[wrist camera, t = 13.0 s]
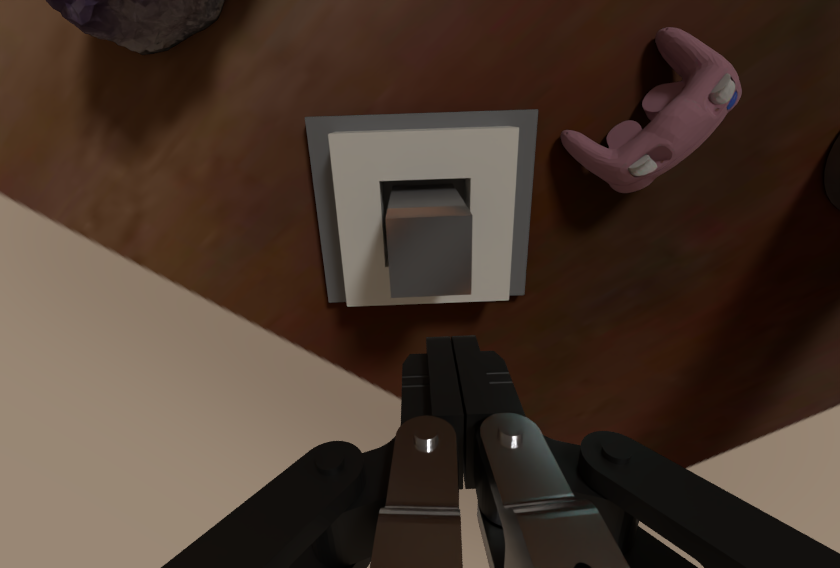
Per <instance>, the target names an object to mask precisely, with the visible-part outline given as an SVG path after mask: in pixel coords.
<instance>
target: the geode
mask: <svg viewBox="0 0 840 568" xmlns="http://www.w3.org/2000/svg"><path fill="white" fill-rule="evenodd" d="M46 1H47V2H48V3H49V4H50V6H51V7H52V8H53V9H55V10H57V11H59V12H61V14H62V16H63V17H64V18H65V19H67V20H68V21H69V22H70V23H72V24H74V25H75V26H76V27H78V28H79V29H80V30H81V31H82V32H84V33H85V34H90V35H91V36H94V37H97V38H98V39H104V40H109V41H114V42H115V43H116V44H117V45H120V46H124V47H126V48H128V49H129V50H131V51H136V52H138V53H140V54H142V55H145V54H153V53H158V52H162V51H167V50H169V49H170V48H172V47H174V46H175V45H177V44H178V43H180V42H182V41H183V40H185V39H187V38H188V37H190V36H192V35H193V34H195V33H197V32H199V31H202V30H204V29H206V28H207V27H209V26H210V25H211V24H212V23H214V22H215V21H216V20H217V19H218V17H219V15H220V13H221V10H222V7H223V3H224V0H46Z"/></svg>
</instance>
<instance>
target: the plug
mask: <svg viewBox="0 0 840 568" xmlns="http://www.w3.org/2000/svg"><path fill="white" fill-rule="evenodd" d="M472 216H473V215H472V214H471V212H470V210H469V209H468V207H467V206H466V204H465V203H464V201H463V199H462V198H461V196H460V195H459V193H458V191H457V190H456V188H455V187H454V185H453V184H429V185H404V186H392V190H391V195H390V200H389V205H388V209H387V214H386V233H387V248H388V262H389V277H390V291H391V298H404V297H427V296H449V295H471V286H472Z"/></svg>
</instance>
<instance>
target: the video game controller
mask: <svg viewBox="0 0 840 568" xmlns="http://www.w3.org/2000/svg"><path fill="white" fill-rule="evenodd" d="M655 43H656V45H657V48H658V50H659V52H660V53H661V55H662V57H663V58H664V59H665V61H666V62H667V63H668V64H669V65H670V66H671V67H672V68H673V69H674V70H675V71H676V72H677V73H678V74H679V75H680V76H681V77H682V79H683V80H682V81H680V82H675V83H666V84H661V85H658V86H656V87H655V88H653V89H652V90H650V91H649V92H648V93H647V95H646V96H645V97H644V99H643V102H642V107H643V109H644V111H645V113H646V115H647V117H648V119H649V120H651V121H650V123H649V124H648V125H647V126H646V127H645V128H644V129H643V130H642V128H641V126H640V125H639V123H637V122H636V121H632V120H628V121H624V122H622V123H620V124H618V125H617V126H615V127H614V128H613V129H612V130H611V131H610V132H609V133H608V135H607V143H608V146H609V148H606V147H604V146H601V145H599V144H597V143H595V142H594V141H592V140H591V139H589V138H588V137H586V136H584V135H583V134H581V133H579V132H576V131H573V130H564V131H563V132H562V133H561V141H562V144H563V146H564V147H565V149H566V150H567V151H568V152H569V153H570V154H571V155H572V156H573V158H575V159H576V160H577V161H578V162H579V163H580V164H582V165H583V166H584V167H585V168H586V169H588V170H589V171H590V172H592V173H593V174H595V175H597V176H598V177H600V178H601V179H603V180H604V181H606V182H607V183H609V185H610V186H611V188H613V189H614V190H615V191H617V192H620V193H630V192H635V191H637V190H640V189H643V188H644V187H646V186H648V185H649V184H650V183H651V182H652V181H653V180H654V179H655V178H656V177H657V176H659V175H661V174H663V173H665V172H666V171H668V170H669V169H671V168H672V167H674V166H675V165H677V164H678V163H679V162H681V161H682V160H683V159H685V158H686V157H687V156H689V155H690V154H691V153H692V152H693V151H694V150H696V149H697V148H698V147H699V146H700V145H701V144H702V143H703V142H704V141H705V140H706V139H707V138H708V137H709V136H710V135H711V134H712V132H713V131H714V130H715V129H716V128H717V126H718V125H719V124H720V123H721V122H722V120H723V119H724V117H725V116H726V114H727V113H728V112H729V111H730V110H732V109H733V108H734V106H735V105H736V104H737V103H738V101H739V99H740V97H741V93H742V90H741V85H740V82H739V77H738V74H737V72H736V70H735V69H734V68H733V66H732V64H730V63H729V62H728V61H727V60H726V59H725V58H724V57H723V56H721V55H720V54H718V53H717V52H716V51H714V50H713V49H711V48H710V47H708V46H707V45H705V44H704V43H702V42H701V41H699V40H698V39H696V38H695V37H693V36H692V35H690V34H688V33H687V32H685V31H683V30H681V29H677V28H672V27H669V28H663V29H661V30H659V31H658V32H657V34H656V38H655Z"/></svg>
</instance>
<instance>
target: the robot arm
mask: <svg viewBox="0 0 840 568" xmlns="http://www.w3.org/2000/svg"><path fill="white" fill-rule="evenodd" d="M824 185H825V190H826V194H827V196H828V198H829V199H830V201H831V203H832V204H833V205H834V206H835V207H837V208H838V209H839V210H840V135H839V136H838V138H837V140H836V141H835V143H834V144H833V146H832V149H831V151H830V153H829V156H828V158H827V162H826V166H825V170H824ZM426 345H427V354H410V355H409V356H408V358H407V359H406V360H405V362H404V363H403V370H402V404H401V405H402V406H401V426H400V427H399V429H398V431H397V433H396V436H395V437H394V438H393V439H392V440H391V441H390V442H389V443H387V444H386V445H384V446H382V447H380V448H377V449H374V450H371V451H368V452H364V453H361V451H360V450H359V449H358V447H356V446H355V445H353V444H351V443H348V442H344V441H331V442H327V443H323V444H321V445H318V446H317V447H315V448H313V449H312V450H310V451H309V452H308V453H306V454H305V455H304V456H302V457H301V458H300V459H299V460H297V461H296V462H295V463H294V464H292V465H291V466H290V467H288V468H287V469H286V470H285V471H283V472H282V473H281V474H280V475H278V476H277V477H276V478H274V479H273V480H272V481H271V482H269V483H268V484H267V485H266V486H265V487H263V488H262V489H261V490H259V491H258V492H257V493H256V494H254V495H253V496H252V497H250V498H249V499H248V500H246V501H245V502H244V503H243V504H241V505H240V506H239V507H238V508H236V509H235V510H234V511H232V512H231V513H230V514H229V515H227V516H226V517H225V518H224V519H222V520H221V521H220V522H219V523H217V524H216V525H215V526H214V527H212V528H211V529H210V530H208V531H207V532H206V533H205V534H203V535H202V536H201V537H199V538H198V539H197V540H196V541H194V542H193V543H192V544H191V545H189V546H188V547H187V548H186V549H184V550H183V551H182V552H181V553H179V554H178V555H177V556H175V557H174V558H173V559H171V560H170V561H169V562H168V563H167V564H165V565H164V566H163V567H161V568H367V567H368V565H369V564H370V562H371V564H370V568H463V565H462V541H461V517H460V509H459V489H463V475H464V481H465V488H466V489H476V493H477V499H478V512H477V516H478V523H479V527H480V530H481V534H482V539H483V543H484V546H485V551H486V555H487V559H488V563H489V567H490V568H698V567H696V566H695V565H693V564H692V563H691V562H689V561H688V560H686V559H685V558H683V557H682V556H680V555H679V554H678V553H676V552H675V551H673V550H672V549H670V548H669V547H667V546H666V545H665V544H663V543H662V542H660V541H659V540H657V539H656V538H654V537H653V536H651V535H650V534H649V533H647V532H646V531H645V530H643V529H642V528H640V527H639V526H638V523H639V521H640V522H642V523H643V524H645V525H647V526H648V527H649V528H651V529H652V530H654V531H655V532H657V533H658V534H660V535H661V536H662V537H664V538H665V539H667V540H668V541H670V542H671V543H673V544H674V545H675V546H677V547H679V548H680V549H681V550H683V551H684V552H686V553H687V554H689V555H690V556H692V557H693V558H695V559H696V560H697V561H698V562H699V563H700V564H701V565H702V566H703V567H704V568H840V554H839V553H838V552H836V551H834V550H832V549H830V548H828V547H827V546H825V545H823V544H821V543H819V542H817V541H815V540H814V539H812V538H810V537H809V536H807V535H805V534H803V533H801V532H799V531H797V530H796V529H794V528H792V527H790V526H789V525H787V524H785V523H783V522H781V521H779V520H778V519H776V518H774V517H772V516H770V515H768V514H767V513H765V512H763V511H761V510H760V509H758V508H756V507H754V506H752V505H750V504H749V503H747V502H745V501H743V500H741V499H739V498H738V497H736V496H734V495H732V494H730V493H729V492H726V491H725V490H723V489H721V488H720V487H718V486H716V485H714V484H712V483H711V482H709V481H707V480H705V479H703V478H701V477H700V476H698V475H696V474H694V473H692V472H691V471H689V470H687V469H685V468H683V467H682V466H680V465H678V464H676V463H674V462H672V461H671V460H669V459H667V458H665V457H663V456H662V455H660V454H658V453H656V452H654V451H652V450H651V449H649V448H647V447H645V446H643V445H642V444H640V443H638V442H636V441H634V440H632V439H631V438H629V437H627V436H624V435H622V434H619V433H615V432H609V431H597V432H593V433H591V434H588V435H587V436H586V437H585V438H584V439H583V440H582V442H581V446H580V445H575V444H570V443H565V442H561V441H557V440H553V439H551V438H548V437H546V436H544V435H542V433H541V431H540V429H539V428H538V426H537V425H536V424H535V423H534V422H533V421H531V420H530V419H528V418H527V417H526V416H525V414H524V411H523V408H522V406H521V403H520V400H519V398H518V395H517V393H516V390H515V387H514V385H513V383H512V379H511V377H510V374H509V372H508V369H507V366H506V364H505V361H504V360H503V359H502V358H501V357H500V356H499V355H498V354H497V353H495V352H494V351H480V349H479V346H478V342H477V339H476V336H475V335H473V336H452V337H451V340H450V336H449V337H426Z"/></svg>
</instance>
